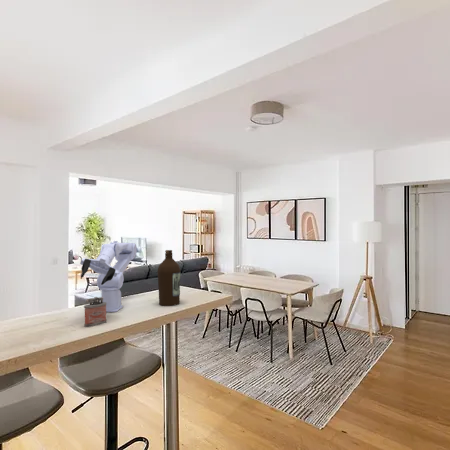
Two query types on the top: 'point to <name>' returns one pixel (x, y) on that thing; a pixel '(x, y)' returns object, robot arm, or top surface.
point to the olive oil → (169, 281)
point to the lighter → (95, 312)
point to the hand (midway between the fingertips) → (92, 279)
